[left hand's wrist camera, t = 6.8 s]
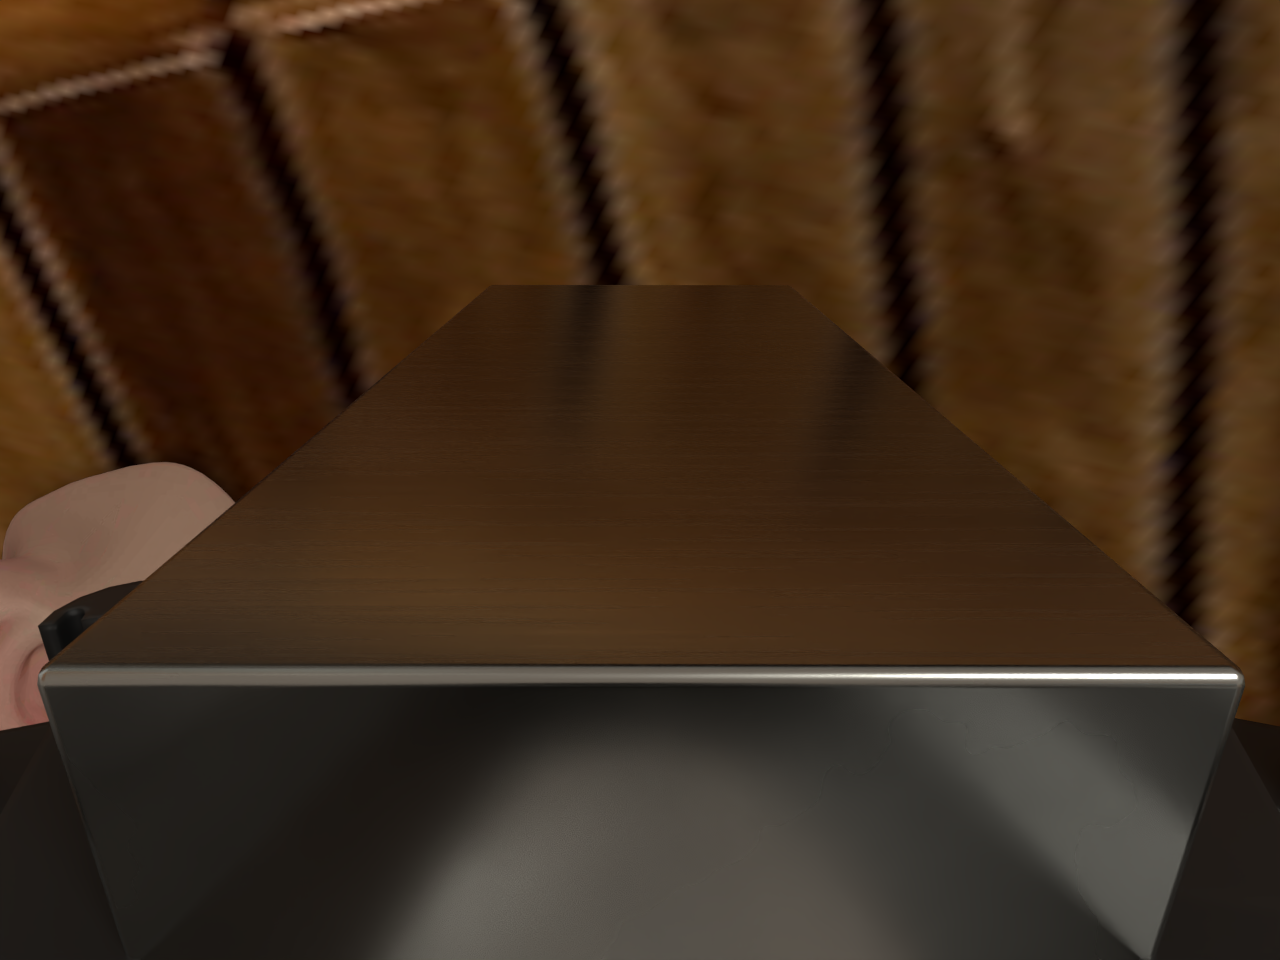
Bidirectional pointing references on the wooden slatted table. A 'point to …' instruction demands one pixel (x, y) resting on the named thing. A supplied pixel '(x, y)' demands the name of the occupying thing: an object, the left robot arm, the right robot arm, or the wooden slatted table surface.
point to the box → (640, 672)
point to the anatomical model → (88, 558)
